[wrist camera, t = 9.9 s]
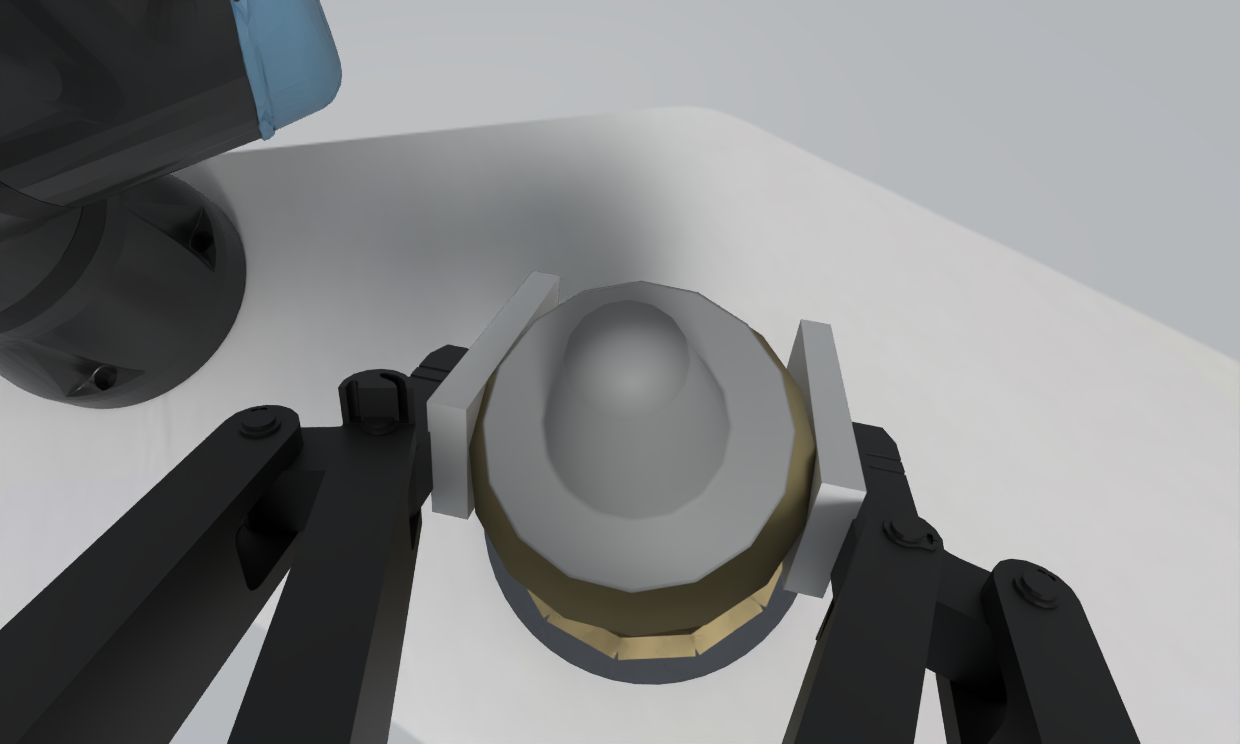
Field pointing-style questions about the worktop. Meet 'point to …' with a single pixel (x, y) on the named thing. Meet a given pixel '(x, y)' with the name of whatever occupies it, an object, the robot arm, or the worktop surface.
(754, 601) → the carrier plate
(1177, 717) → the worktop surface
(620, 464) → the squeeze bottle
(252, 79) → the robot arm
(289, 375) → the worktop surface
